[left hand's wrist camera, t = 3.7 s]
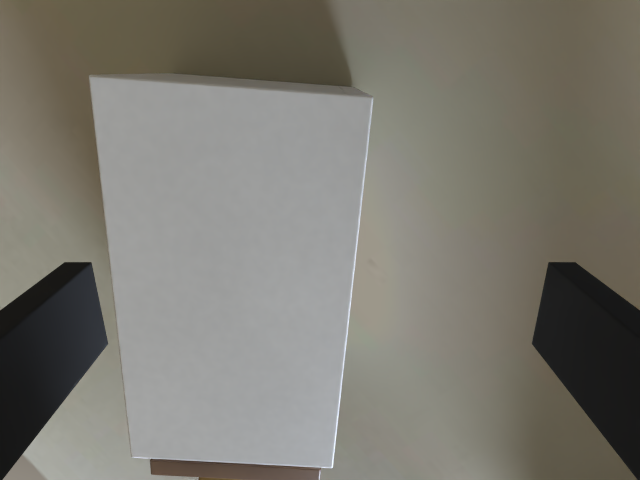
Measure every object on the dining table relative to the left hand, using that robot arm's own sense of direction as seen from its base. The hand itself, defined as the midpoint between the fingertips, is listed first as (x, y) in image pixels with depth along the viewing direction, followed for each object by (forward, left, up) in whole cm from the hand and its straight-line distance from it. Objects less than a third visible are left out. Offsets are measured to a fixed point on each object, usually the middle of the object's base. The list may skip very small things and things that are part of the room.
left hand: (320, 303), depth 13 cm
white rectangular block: (+1, -6, -18) cm, 19 cm away
